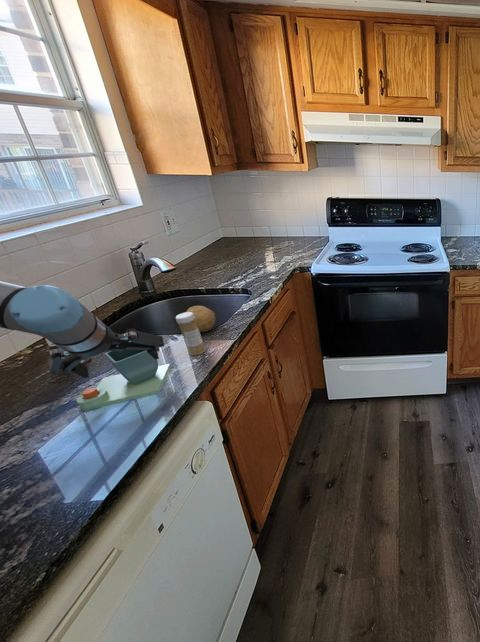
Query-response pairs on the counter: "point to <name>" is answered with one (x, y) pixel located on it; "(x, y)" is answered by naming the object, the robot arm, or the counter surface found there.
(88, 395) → the tare button
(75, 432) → the counter surface
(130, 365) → the flower pot
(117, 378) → the scale
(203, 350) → the sprinkles bottle
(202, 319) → the potato
